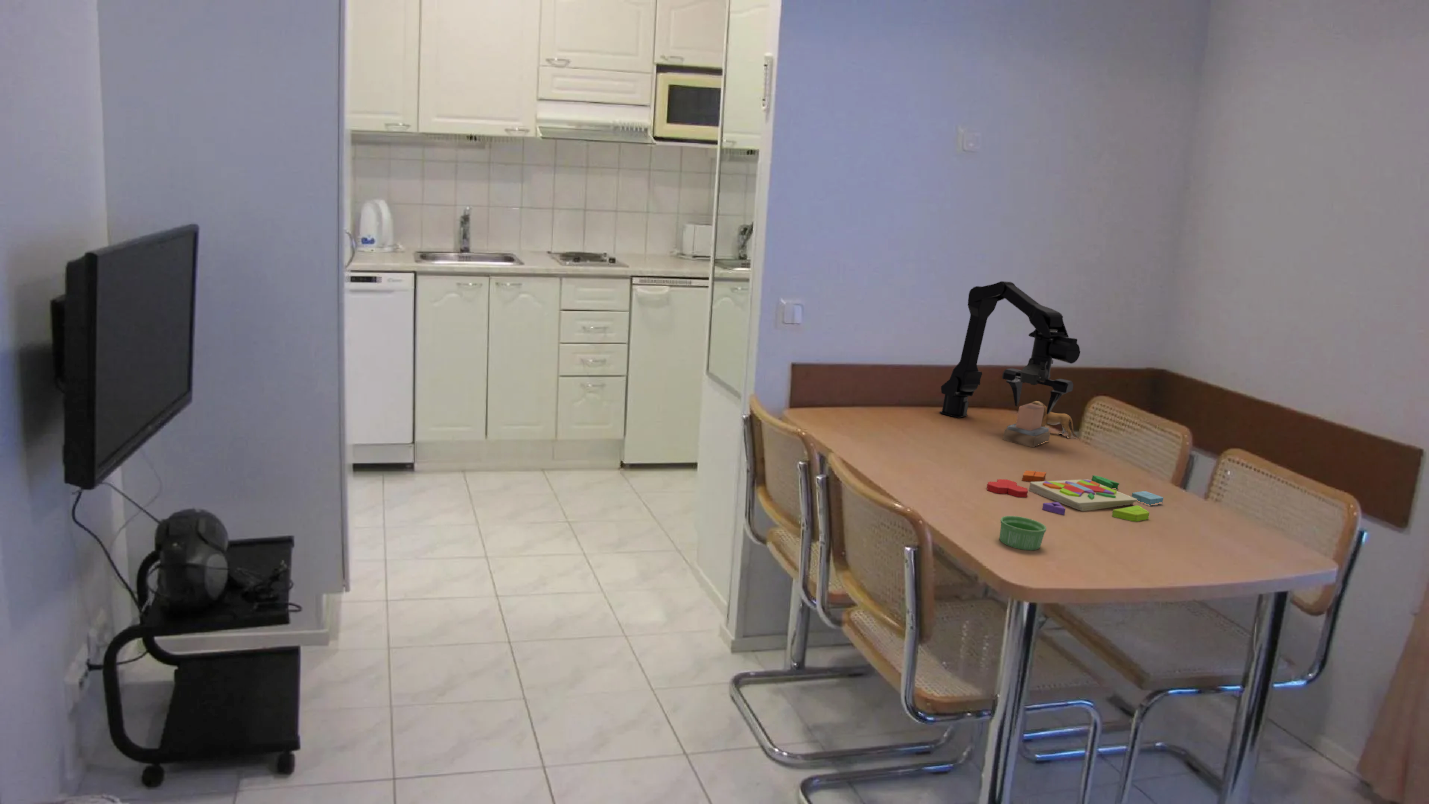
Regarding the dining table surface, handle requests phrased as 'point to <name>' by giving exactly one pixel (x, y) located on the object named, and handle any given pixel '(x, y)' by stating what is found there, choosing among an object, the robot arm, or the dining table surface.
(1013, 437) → the base brick
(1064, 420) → the lion figurine
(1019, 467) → the dining table surface
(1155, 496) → the pattern blocks set
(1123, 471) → the dining table surface
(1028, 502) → the dining table surface
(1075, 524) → the dining table surface
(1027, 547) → the ramekin
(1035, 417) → the terracotta brick
